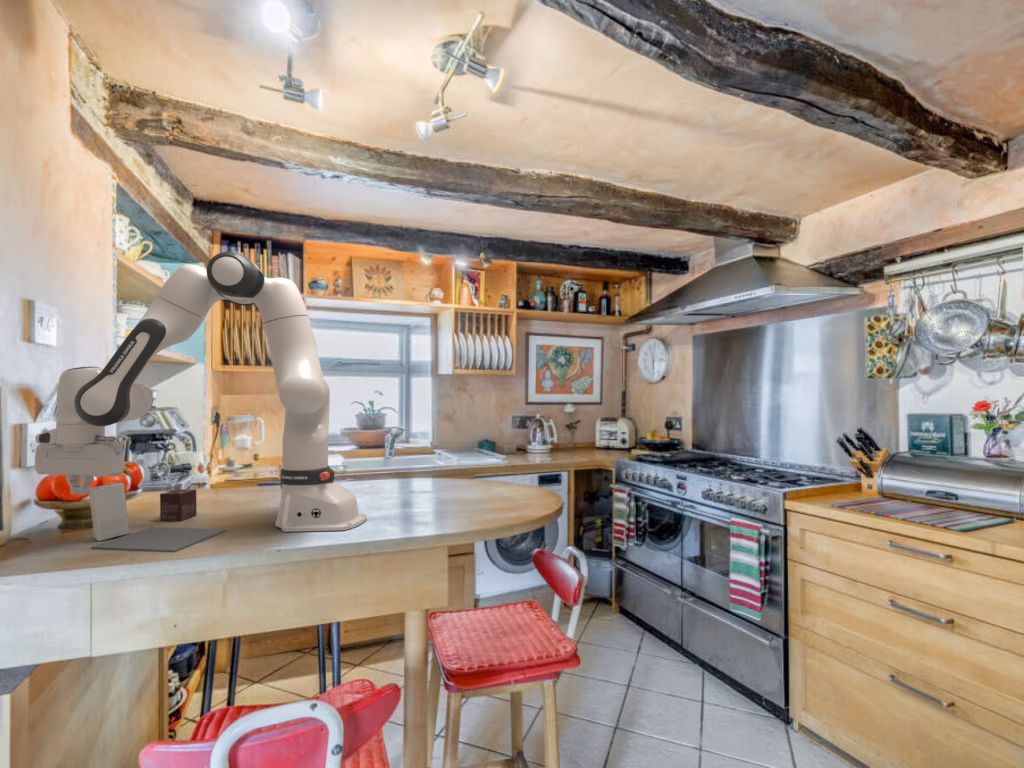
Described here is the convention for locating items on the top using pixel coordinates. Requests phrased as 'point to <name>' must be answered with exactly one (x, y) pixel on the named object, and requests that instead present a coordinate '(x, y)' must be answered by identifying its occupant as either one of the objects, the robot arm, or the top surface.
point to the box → (178, 505)
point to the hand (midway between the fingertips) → (79, 494)
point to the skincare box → (109, 511)
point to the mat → (159, 539)
